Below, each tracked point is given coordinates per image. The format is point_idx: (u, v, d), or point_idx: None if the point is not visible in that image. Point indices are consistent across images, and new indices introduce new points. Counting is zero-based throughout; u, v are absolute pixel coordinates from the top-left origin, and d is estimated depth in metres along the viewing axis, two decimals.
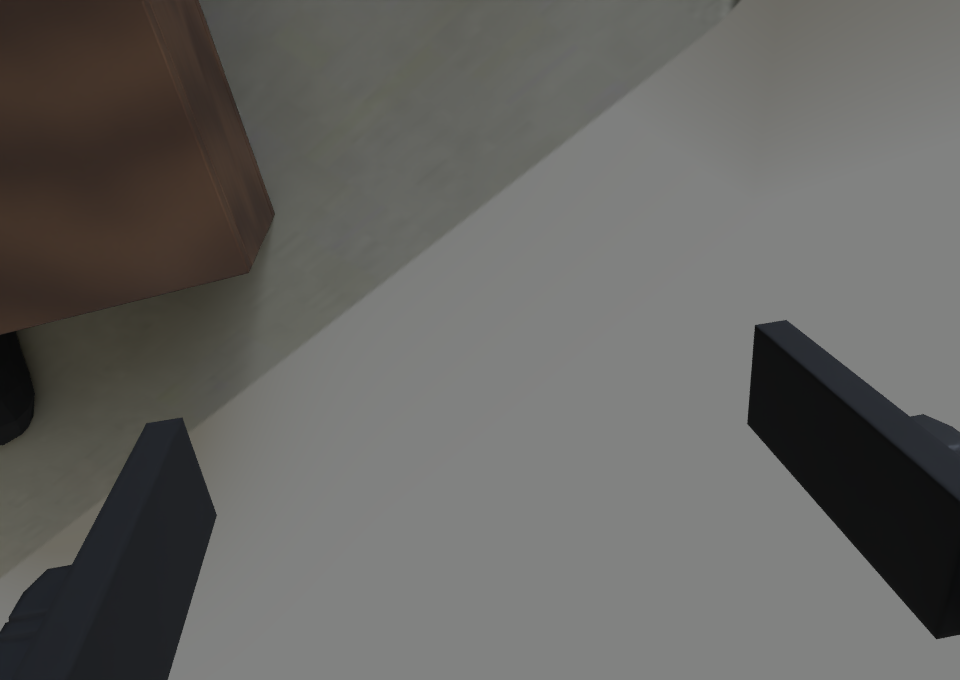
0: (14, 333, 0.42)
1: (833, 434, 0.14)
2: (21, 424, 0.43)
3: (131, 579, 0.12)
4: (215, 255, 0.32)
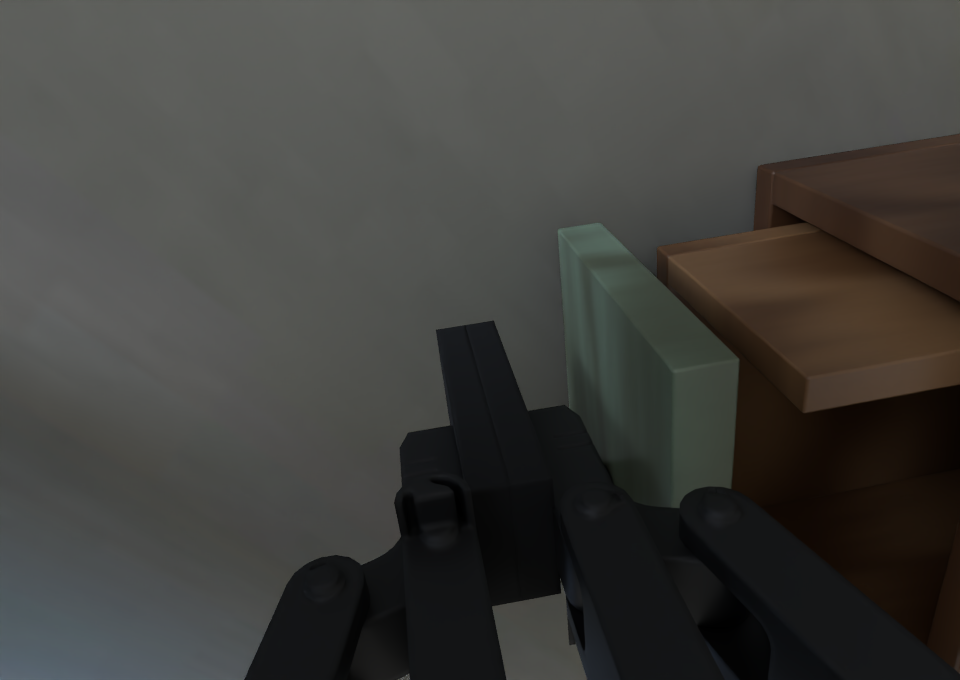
0: None
1: None
2: None
3: None
4: None
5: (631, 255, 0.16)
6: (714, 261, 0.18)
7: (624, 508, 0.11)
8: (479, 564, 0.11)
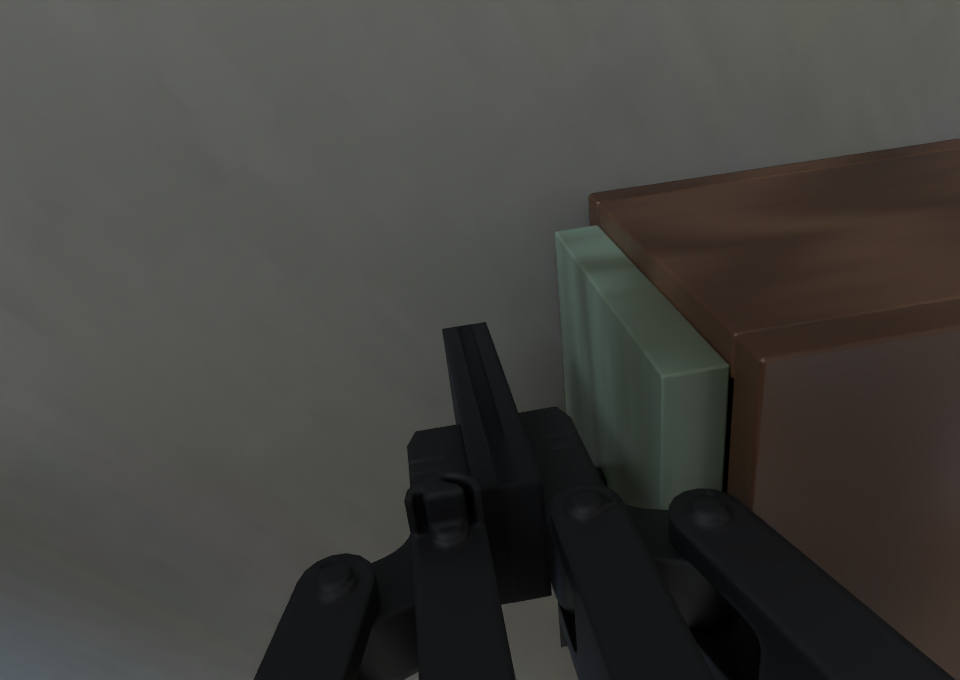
0: None
1: None
2: None
3: None
4: None
5: (627, 258, 0.16)
6: None
7: (615, 509, 0.11)
8: (488, 563, 0.11)
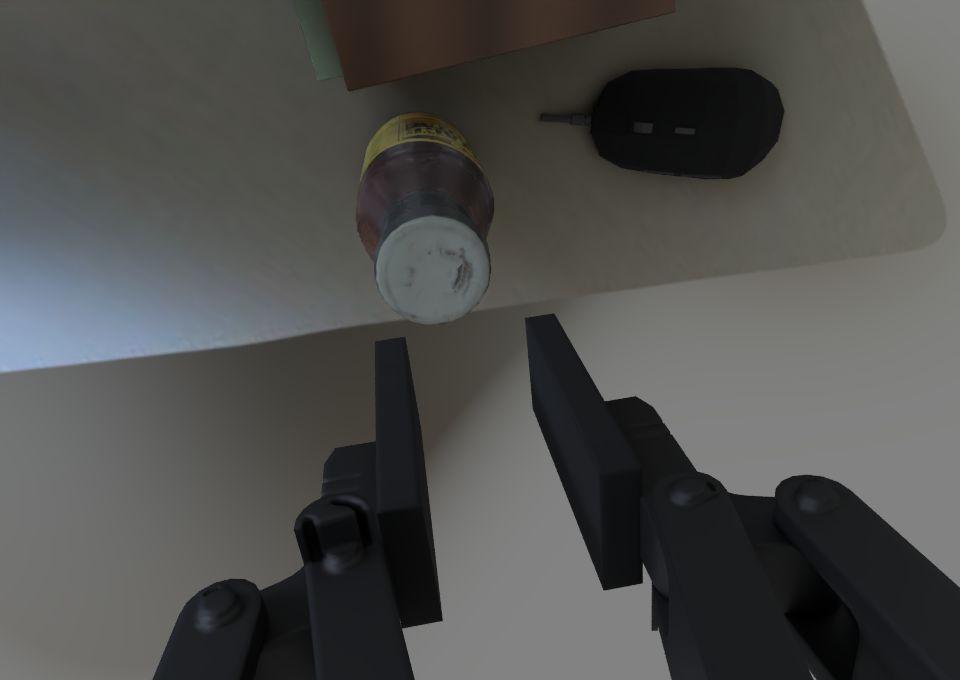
0: (669, 69, 0.41)
1: (557, 414, 0.15)
2: (767, 81, 0.41)
3: (418, 451, 0.14)
4: None
5: None
6: None
7: (718, 499, 0.11)
8: (385, 582, 0.10)
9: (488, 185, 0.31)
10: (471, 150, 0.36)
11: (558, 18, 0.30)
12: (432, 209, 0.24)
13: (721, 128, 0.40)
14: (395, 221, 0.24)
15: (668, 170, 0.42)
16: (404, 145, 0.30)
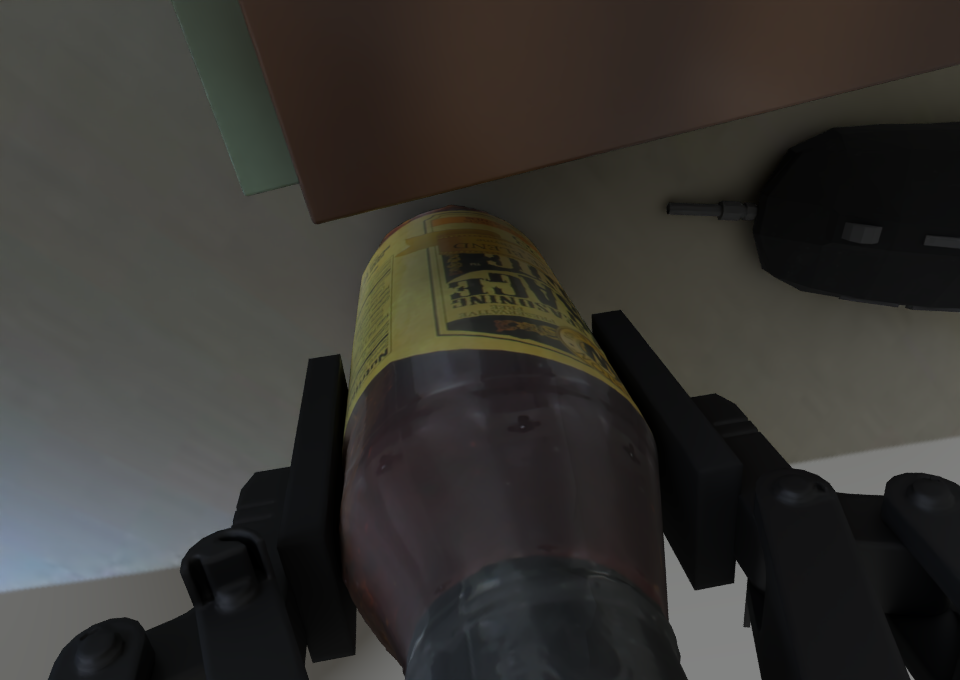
0: (898, 124, 0.23)
1: None
2: None
3: (337, 477, 0.14)
4: None
5: None
6: None
7: (826, 500, 0.11)
8: (283, 615, 0.10)
9: (654, 445, 0.13)
10: (571, 302, 0.18)
11: (823, 49, 0.13)
12: None
13: None
14: None
15: (891, 300, 0.24)
16: (455, 361, 0.12)
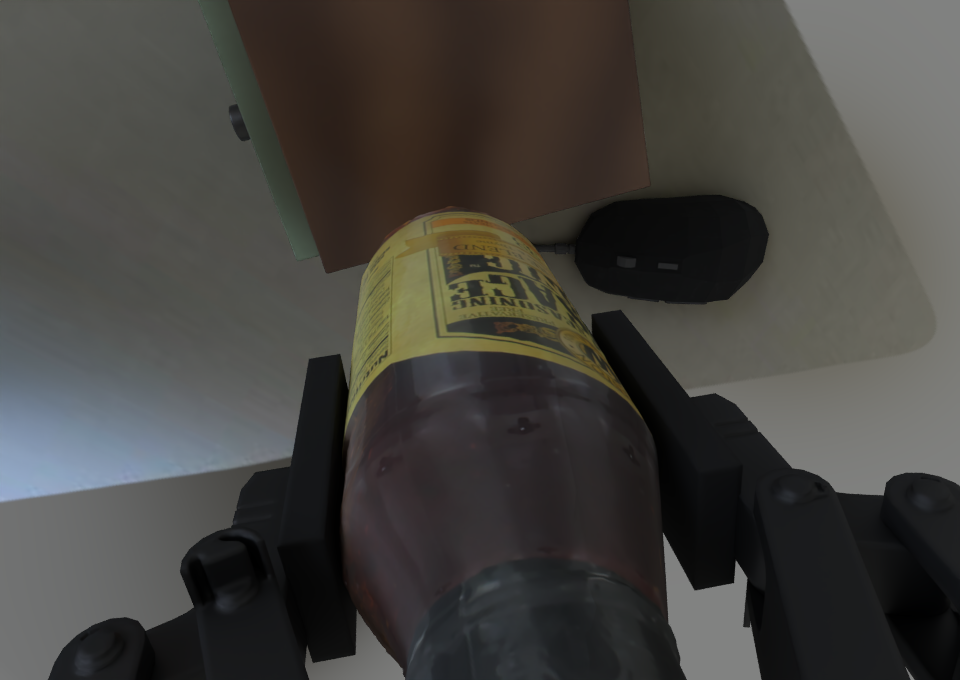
0: (652, 199, 0.41)
1: None
2: (750, 210, 0.41)
3: (337, 476, 0.14)
4: None
5: None
6: None
7: (826, 500, 0.11)
8: (283, 615, 0.10)
9: (654, 447, 0.13)
10: (571, 304, 0.18)
11: (533, 198, 0.31)
12: None
13: (704, 262, 0.40)
14: None
15: (652, 298, 0.42)
16: (455, 363, 0.12)
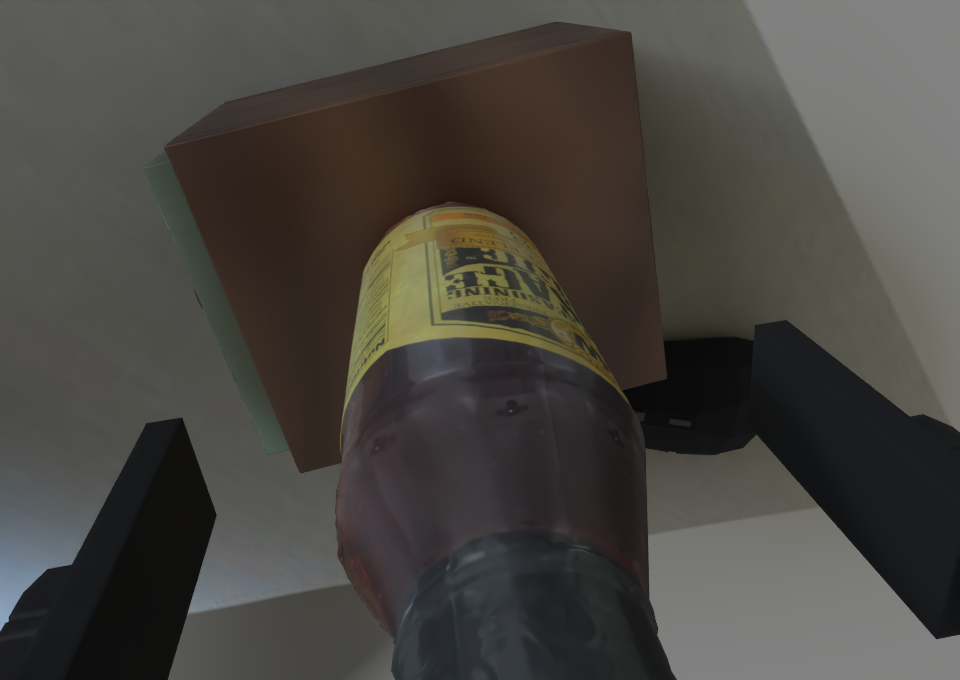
0: None
1: (833, 434, 0.14)
2: None
3: (131, 579, 0.12)
4: (600, 78, 0.22)
5: None
6: None
7: None
8: None
9: (640, 432, 0.13)
10: (566, 296, 0.18)
11: None
12: None
13: (719, 418, 0.36)
14: None
15: (661, 448, 0.38)
16: (448, 349, 0.13)
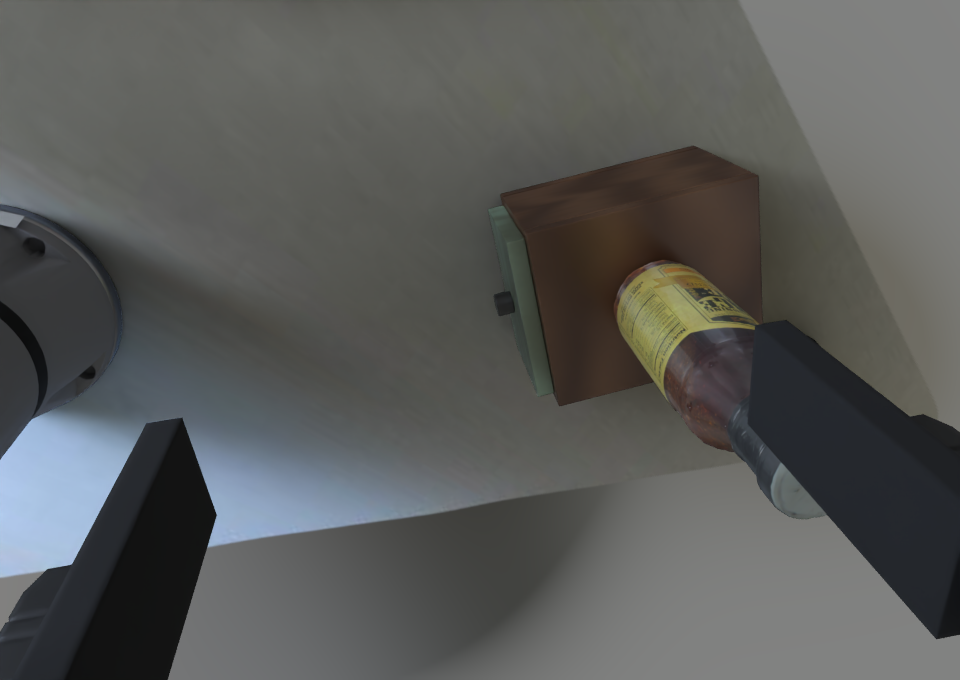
0: None
1: (833, 434, 0.14)
2: None
3: (131, 579, 0.12)
4: (741, 197, 0.44)
5: (509, 215, 0.49)
6: None
7: None
8: None
9: None
10: None
11: None
12: None
13: None
14: None
15: None
16: (724, 331, 0.34)
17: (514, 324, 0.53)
